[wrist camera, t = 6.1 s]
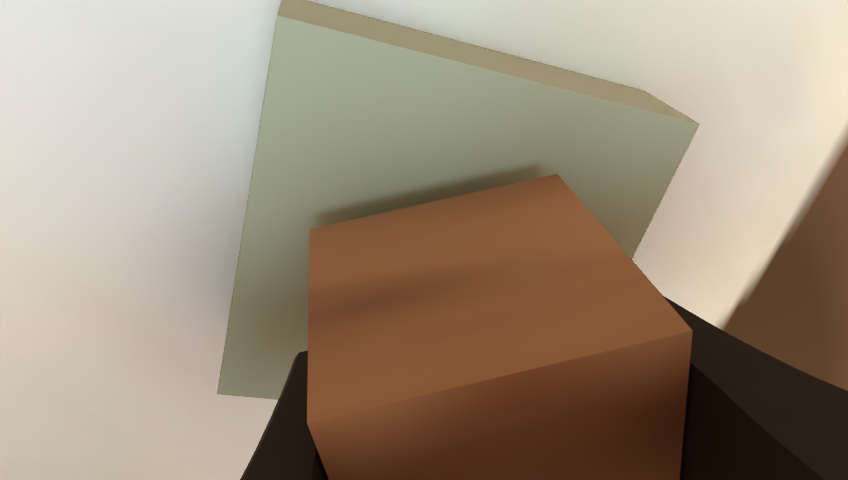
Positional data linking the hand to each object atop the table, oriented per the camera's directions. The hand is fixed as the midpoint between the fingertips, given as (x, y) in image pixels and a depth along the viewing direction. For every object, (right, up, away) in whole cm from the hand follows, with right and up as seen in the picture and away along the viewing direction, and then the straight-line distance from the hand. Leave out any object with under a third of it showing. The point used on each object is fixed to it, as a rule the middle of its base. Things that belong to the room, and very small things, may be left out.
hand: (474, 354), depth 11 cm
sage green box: (-1, +3, +5) cm, 6 cm away
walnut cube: (0, +1, +2) cm, 2 cm away
